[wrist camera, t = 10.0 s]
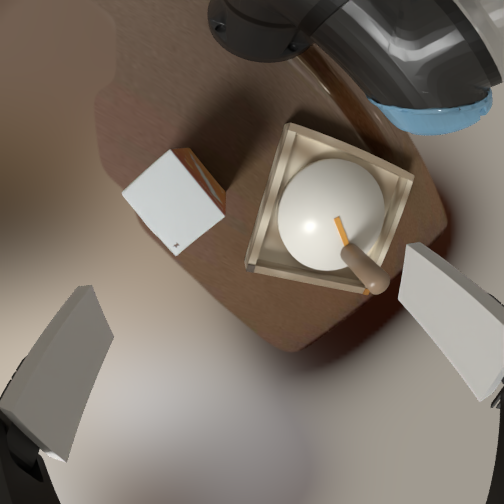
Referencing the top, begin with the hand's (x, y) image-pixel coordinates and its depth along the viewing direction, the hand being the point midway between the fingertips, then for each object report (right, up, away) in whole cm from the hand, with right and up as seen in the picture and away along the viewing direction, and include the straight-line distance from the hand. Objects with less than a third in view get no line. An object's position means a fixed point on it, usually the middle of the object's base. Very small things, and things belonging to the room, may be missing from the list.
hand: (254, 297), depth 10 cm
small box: (-8, +11, +25) cm, 29 cm away
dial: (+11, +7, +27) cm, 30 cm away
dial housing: (+11, +7, +28) cm, 31 cm away
